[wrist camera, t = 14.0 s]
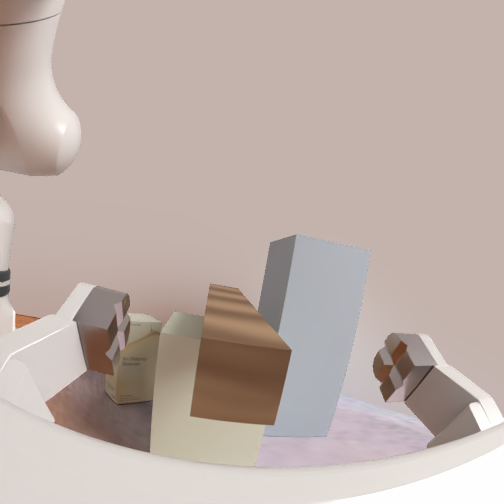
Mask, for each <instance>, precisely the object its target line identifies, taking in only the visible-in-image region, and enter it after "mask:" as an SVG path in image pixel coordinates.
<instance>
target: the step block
mask: <svg viewBox="0 0 504 504" xmlns="http://www.w3.org/2000/svg"><path fill="white" fill-rule="evenodd" d="M203 323H204V316H199V315H193V314H188V313H182V312H177V311H175V312H174V314H173V315H172V316H171V318H170V319H169V321H168V322H167V323H166V325H165V326H164V328H163V329H162V330H161V332H160V338H159V346H158V355H157V364H156V373H155V384H154V395H153V407H152V422H151V440H150V453H153V454H158V455H163V456H168V457H173V458H179V459H185V460H192V461H199V462H207V463H216V464H226V465H239V466H255V464H256V460H257V456H258V453H259V449H260V445H261V441H262V437H263V433H264V429H265V425H258V424H246V423H236V422H227V421H218V420H211V419H204V418H197V417H191V416H190V411H191V404H192V396H193V389H194V382H195V375H196V368H197V361H198V355H199V348H200V342H201V335H202V329H203Z"/></svg>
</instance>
